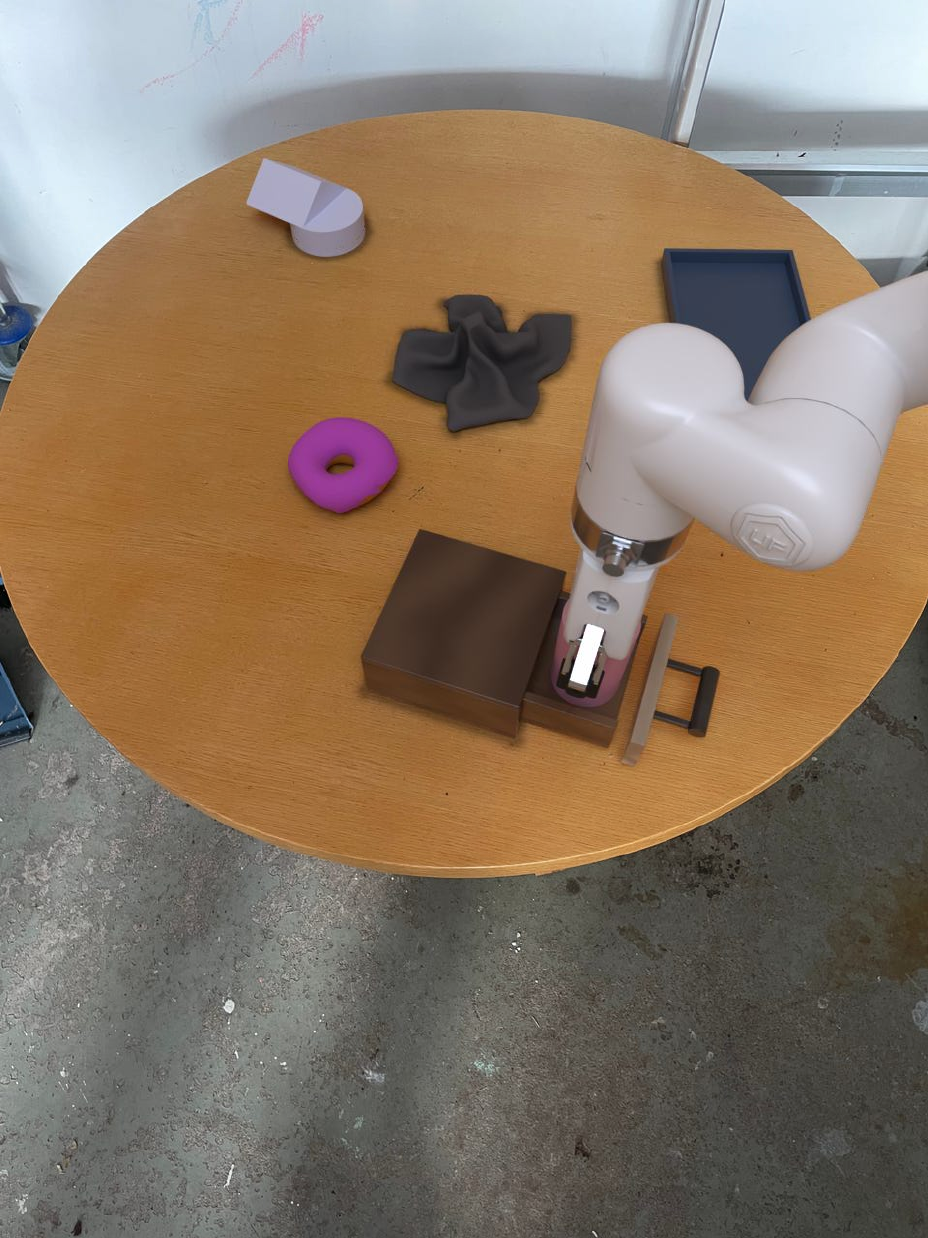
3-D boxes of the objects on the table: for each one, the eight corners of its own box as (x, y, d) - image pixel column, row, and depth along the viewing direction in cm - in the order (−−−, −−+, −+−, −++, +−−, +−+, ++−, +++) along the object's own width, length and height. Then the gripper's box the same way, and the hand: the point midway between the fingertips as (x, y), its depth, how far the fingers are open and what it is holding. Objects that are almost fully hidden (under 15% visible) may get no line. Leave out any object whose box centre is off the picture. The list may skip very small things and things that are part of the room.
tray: (839, 467, 89) (847, 453, 87) (690, 465, 89) (695, 451, 87) (786, 264, 104) (792, 249, 102) (660, 262, 104) (664, 247, 102)
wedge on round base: (251, 228, 107) (336, 266, 104) (239, 177, 101) (329, 215, 98) (296, 190, 111) (379, 225, 107) (287, 138, 105) (375, 174, 102)
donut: (277, 467, 88) (268, 437, 84) (361, 423, 91) (357, 392, 87) (329, 535, 84) (323, 506, 80) (416, 487, 87) (414, 457, 83)
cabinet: (559, 609, 80) (566, 571, 75) (514, 739, 74) (519, 708, 68) (422, 568, 82) (419, 527, 77) (367, 691, 76) (360, 656, 70)
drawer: (717, 657, 77) (732, 631, 73) (688, 784, 71) (702, 764, 67) (534, 602, 80) (538, 574, 75) (491, 720, 74) (493, 697, 70)
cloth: (486, 457, 89) (488, 415, 84) (356, 371, 95) (350, 327, 90) (612, 340, 98) (621, 295, 92) (485, 268, 104) (487, 222, 98)
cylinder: (627, 656, 76) (649, 598, 67) (610, 716, 73) (630, 663, 64) (561, 636, 77) (574, 576, 68) (541, 695, 74) (552, 639, 65)
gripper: (659, 642, 49) (611, 749, 64) (718, 425, 57) (663, 565, 72) (534, 603, 51) (515, 717, 65) (609, 396, 59) (576, 539, 74)
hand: (592, 637), depth 69 cm, fingers open, 9 cm apart
